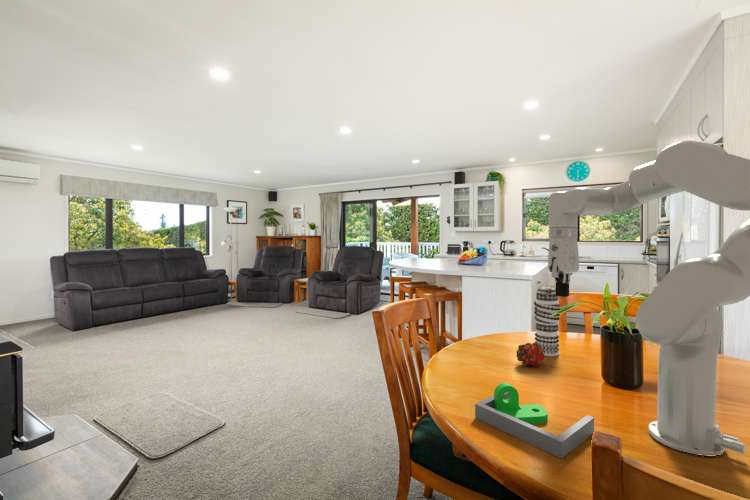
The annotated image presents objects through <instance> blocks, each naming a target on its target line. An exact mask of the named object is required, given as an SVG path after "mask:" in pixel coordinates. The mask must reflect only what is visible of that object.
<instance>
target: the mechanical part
mask: <svg viewBox="0 0 750 500" xmlns="http://www.w3.org/2000/svg"><path fill="white" fill-rule="evenodd" d="M507 392H510V396H509V398H508V399H505V400H503V395H504V394H505V393H507ZM493 395H494V409H496V410H498V411H501V412H503V413H505V414H508V415H510V416H512V417H515V418H517V419H519V420H522V421H524V422H526V423H529V424H531V425H543V424H546V423H547V422H548V420H549V419H548V413H549V412H548V410H547V409H545V408H544V407H543V406H542V405H541V404H539V403H535V404H519V403H520V402H519V401H520V399H519V398H520V395H519V392H518V390H517V389H516V387H514V385H512V384H510V383H509V382H502V383H501V382H500V383H499V384H498V385H497V386H496V387H495V388H494V391H493Z"/></svg>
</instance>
